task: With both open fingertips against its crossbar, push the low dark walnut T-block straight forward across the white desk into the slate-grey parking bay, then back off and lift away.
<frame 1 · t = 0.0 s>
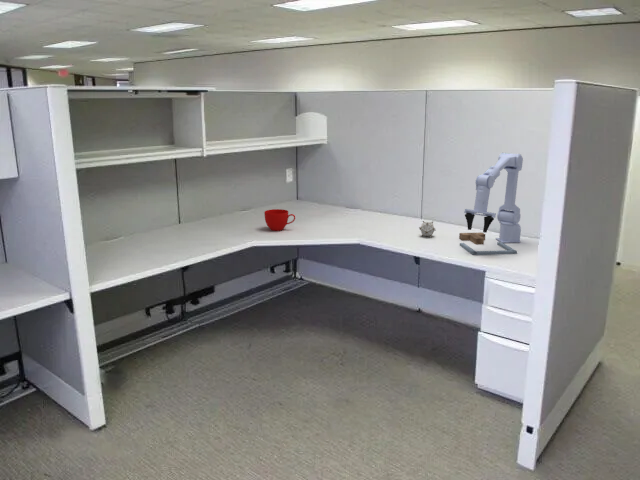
hand: (477, 231, 247), 11 cm above the table, tool pointing down, fingers open, 7 cm apart
ceramic cup: (280, 230, 295), on the table
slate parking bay: (487, 249, 257), on the table
walnut T-block: (474, 241, 272), on the table
grey spiky ball: (426, 236, 281), on the table
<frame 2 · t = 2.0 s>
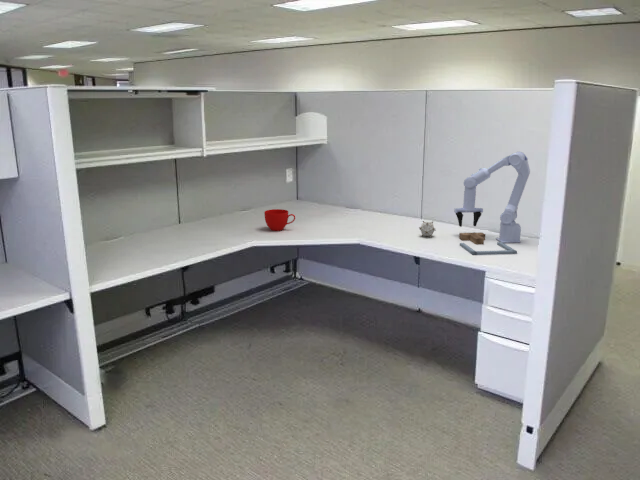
hand: (467, 226, 281), 5 cm above the table, tool pointing down, fingers open, 7 cm apart
nothing on the table moved.
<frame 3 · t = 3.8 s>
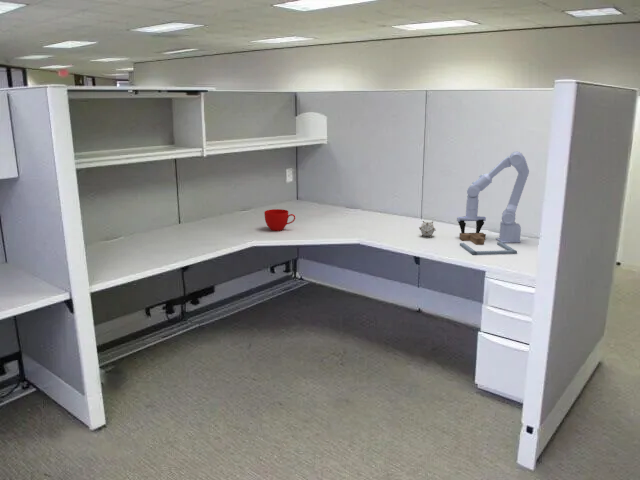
hand: (470, 234, 278), 2 cm above the table, tool pointing down
walnut T-block: (475, 241, 271), on the table, touching gripper
everything else where it was.
when the fingers open (2 cm above the table, at t = 4.6 s): walnut T-block moves 1 cm, on the table.
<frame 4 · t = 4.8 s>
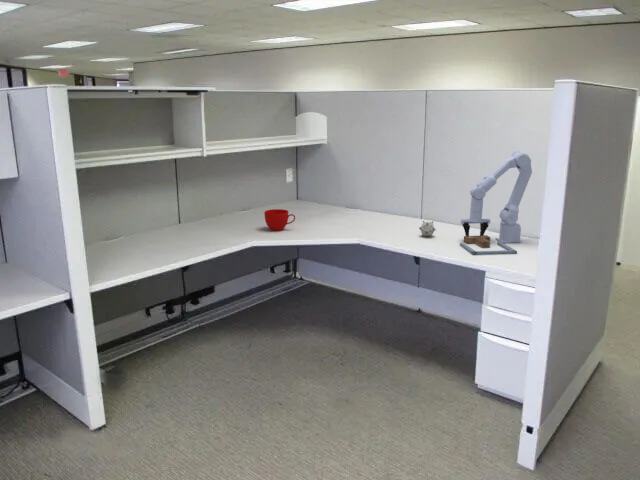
hand: (474, 237, 272), 2 cm above the table, tool pointing down, fingers open, 7 cm apart
walnut T-block: (480, 244, 265), on the table, touching gripper
everything else where it was.
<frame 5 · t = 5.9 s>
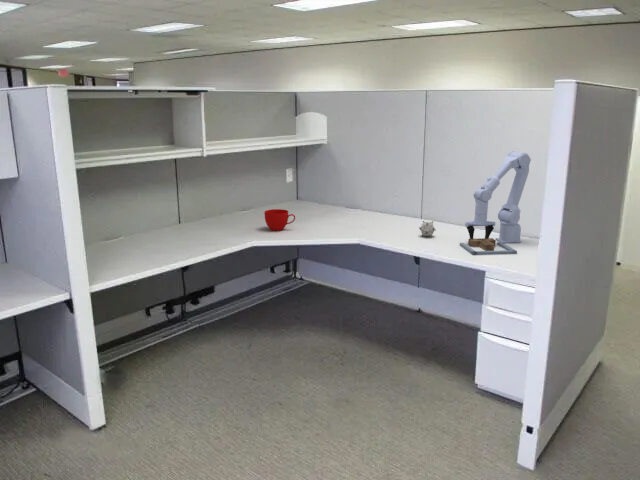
hand: (478, 240, 266), 2 cm above the table, tool pointing down
walnut T-block: (484, 247, 260), on the table, touching gripper
everything else where it was.
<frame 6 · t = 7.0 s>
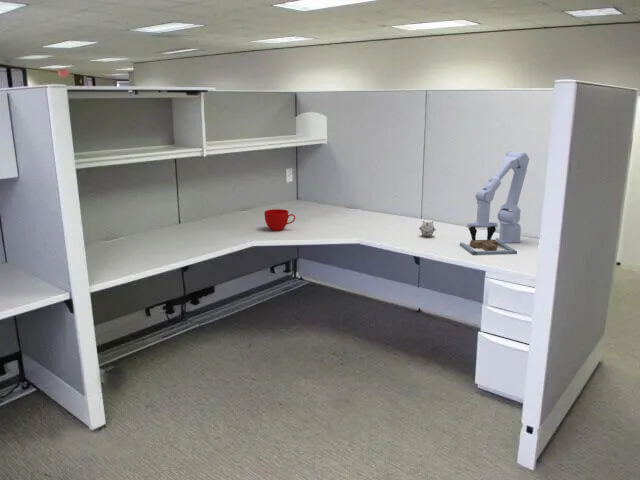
hand: (481, 241, 264), 2 cm above the table, tool pointing down
walnut T-block: (487, 249, 257), on the table, touching gripper
everything else where it was.
when the fingers open (2 cm above the table, at t = 7.0 s): walnut T-block stays where it is, on the table.
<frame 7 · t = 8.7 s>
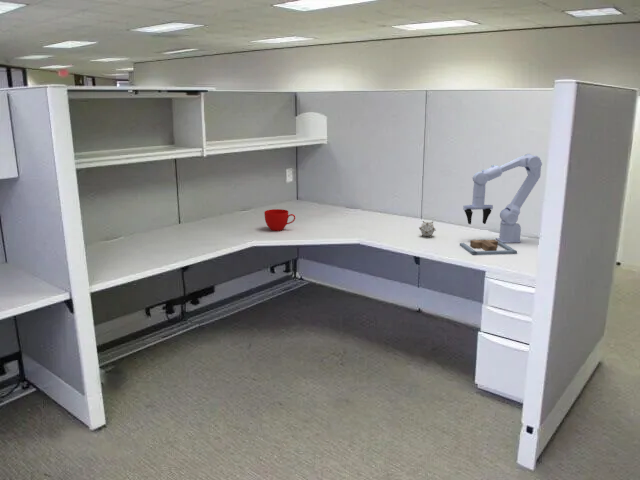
hand: (476, 223, 270), 9 cm above the table, tool pointing down, fingers open, 7 cm apart
walnut T-block: (487, 249, 257), on the table
everything else where it was.
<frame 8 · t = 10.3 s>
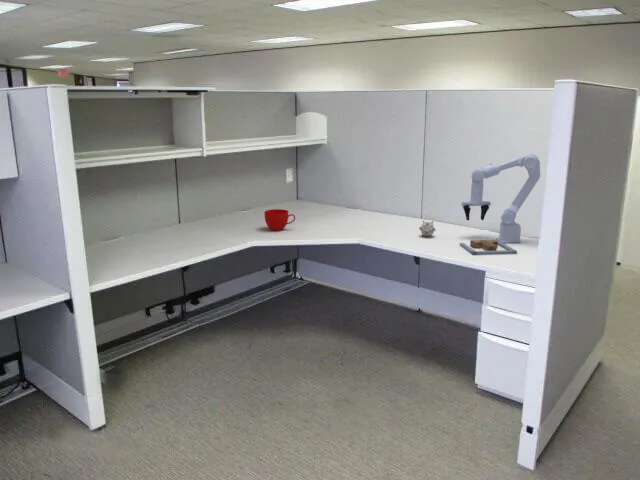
hand: (474, 219, 276), 9 cm above the table, tool pointing down, fingers open, 7 cm apart
nothing on the table moved.
at the end: walnut T-block 0.2 cm from the target spot, on the table; walnut T-block tilted 0°; walnut T-block moved 14.9 cm from its start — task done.
